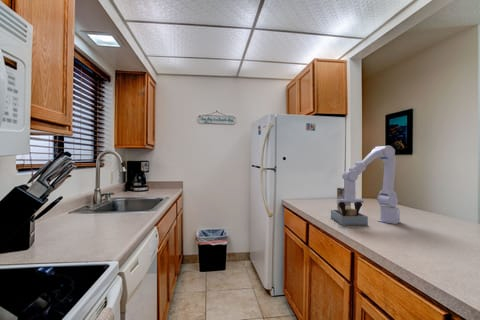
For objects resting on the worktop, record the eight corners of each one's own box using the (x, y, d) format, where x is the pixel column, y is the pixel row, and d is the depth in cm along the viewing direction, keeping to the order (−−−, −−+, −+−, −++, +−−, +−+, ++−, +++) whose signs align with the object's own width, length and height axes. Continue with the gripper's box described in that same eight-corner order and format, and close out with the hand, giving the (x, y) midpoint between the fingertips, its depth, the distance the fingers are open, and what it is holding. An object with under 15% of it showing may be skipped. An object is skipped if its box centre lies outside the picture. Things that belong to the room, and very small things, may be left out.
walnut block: (356, 218, 139) (356, 209, 139) (351, 219, 136) (350, 210, 136) (349, 216, 143) (349, 208, 143) (343, 217, 141) (343, 208, 141)
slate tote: (330, 217, 153) (330, 209, 153) (353, 217, 152) (353, 209, 152) (341, 225, 135) (341, 216, 135) (367, 225, 134) (367, 216, 134)
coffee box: (336, 209, 176) (336, 187, 176) (345, 209, 176) (345, 187, 176) (341, 212, 167) (341, 189, 167) (351, 212, 167) (351, 189, 167)
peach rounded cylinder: (350, 218, 147) (350, 206, 147) (346, 219, 144) (346, 207, 144) (342, 216, 151) (342, 205, 151) (338, 217, 148) (338, 206, 148)
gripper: (359, 190, 143) (359, 213, 143) (334, 190, 144) (334, 213, 144) (365, 192, 136) (365, 216, 136) (339, 192, 137) (339, 216, 137)
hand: (350, 215), depth 140 cm, fingers closed on walnut block, 6 cm apart
